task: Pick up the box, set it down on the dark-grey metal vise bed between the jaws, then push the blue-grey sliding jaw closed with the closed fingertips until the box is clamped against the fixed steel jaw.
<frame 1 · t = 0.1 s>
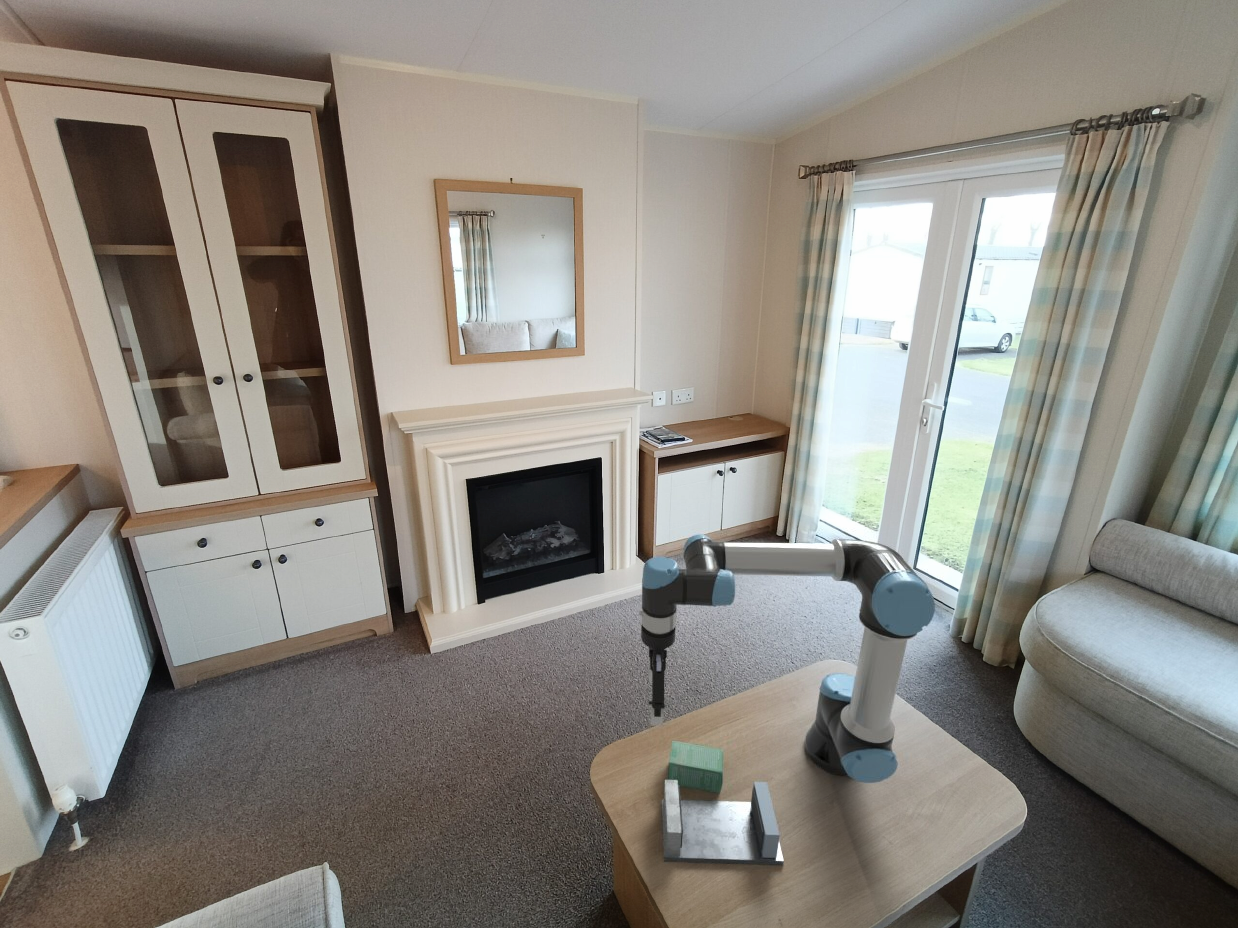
hand: (655, 701, 132), 28 cm above the table, fingers open, 13 cm apart
jaw: (763, 818, 129), point 5 cm above the table, slide at 0.0 cm
vise: (719, 832, 131), on the table
box: (695, 777, 145), on the table
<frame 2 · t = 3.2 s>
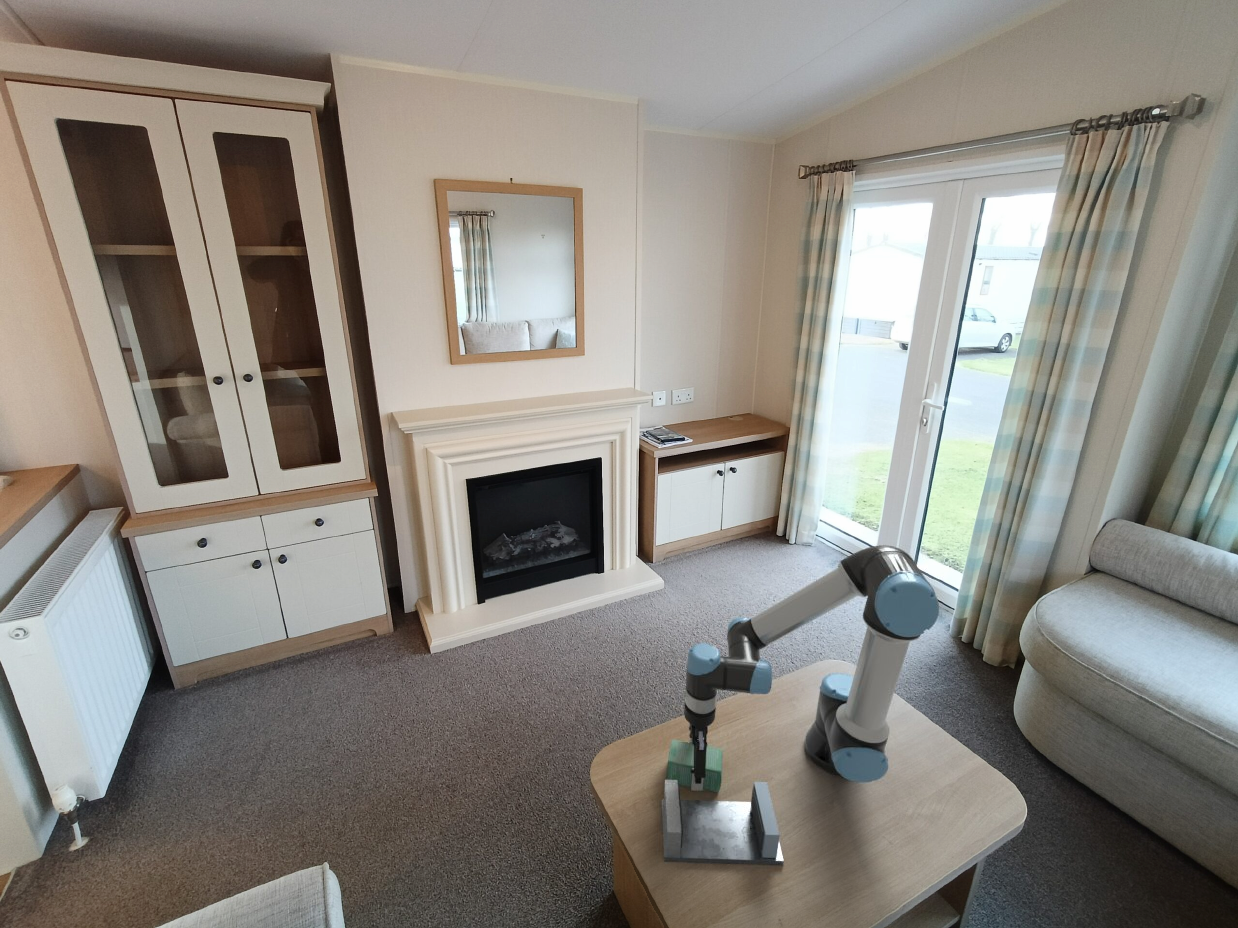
hand: (695, 773, 145), 1 cm above the table, fingers closed on box, 8 cm apart
box: (694, 776, 145), on the table, touching gripper
everything else where it was.
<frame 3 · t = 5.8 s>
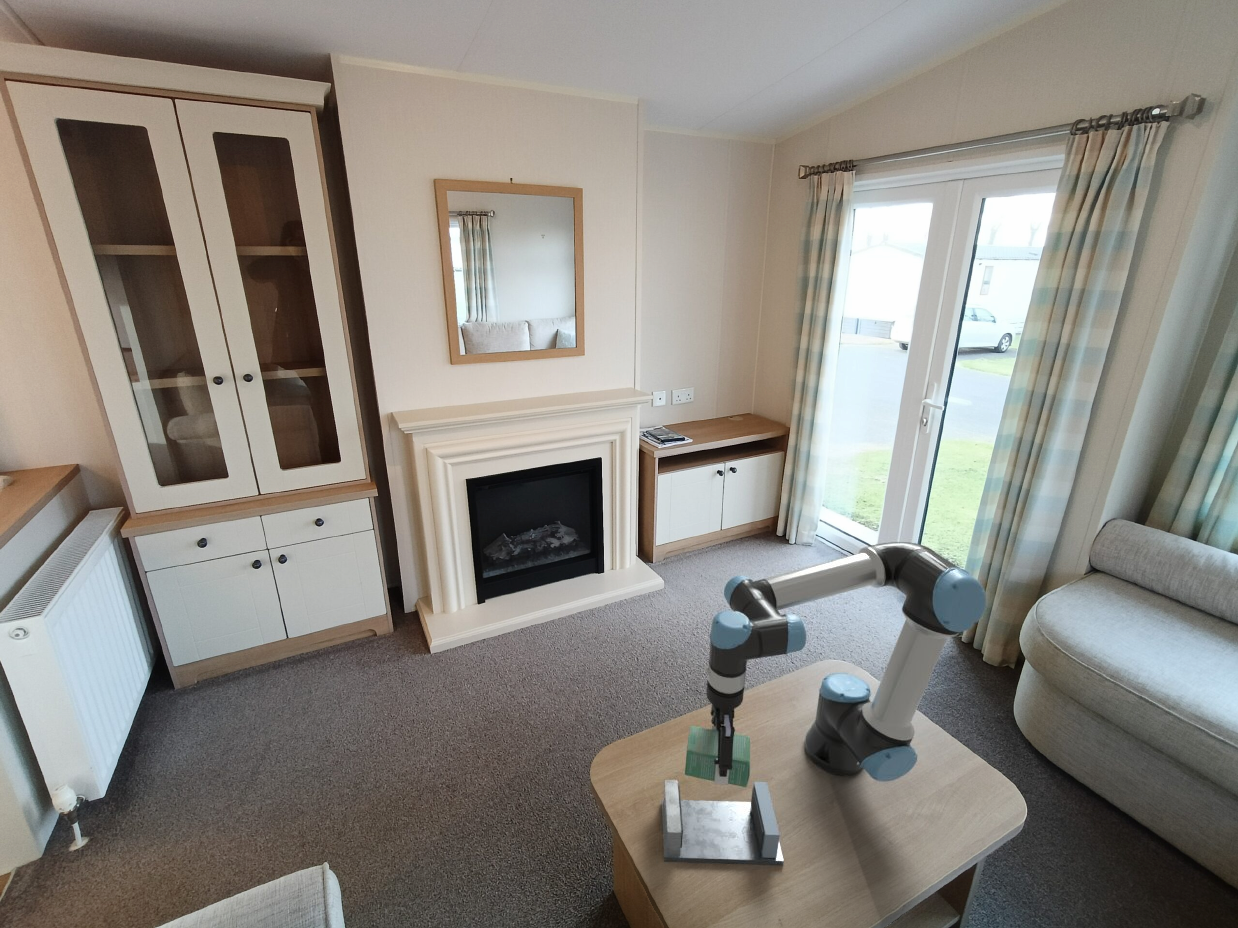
hand: (718, 765, 124), 20 cm above the table, fingers closed on box, 8 cm apart
box: (717, 769, 124), point 19 cm above the table, touching gripper
everything else where it was.
when the fingers open (4 cm above the table, at t = 8.8 s): box drops 1 cm, resting on vise.
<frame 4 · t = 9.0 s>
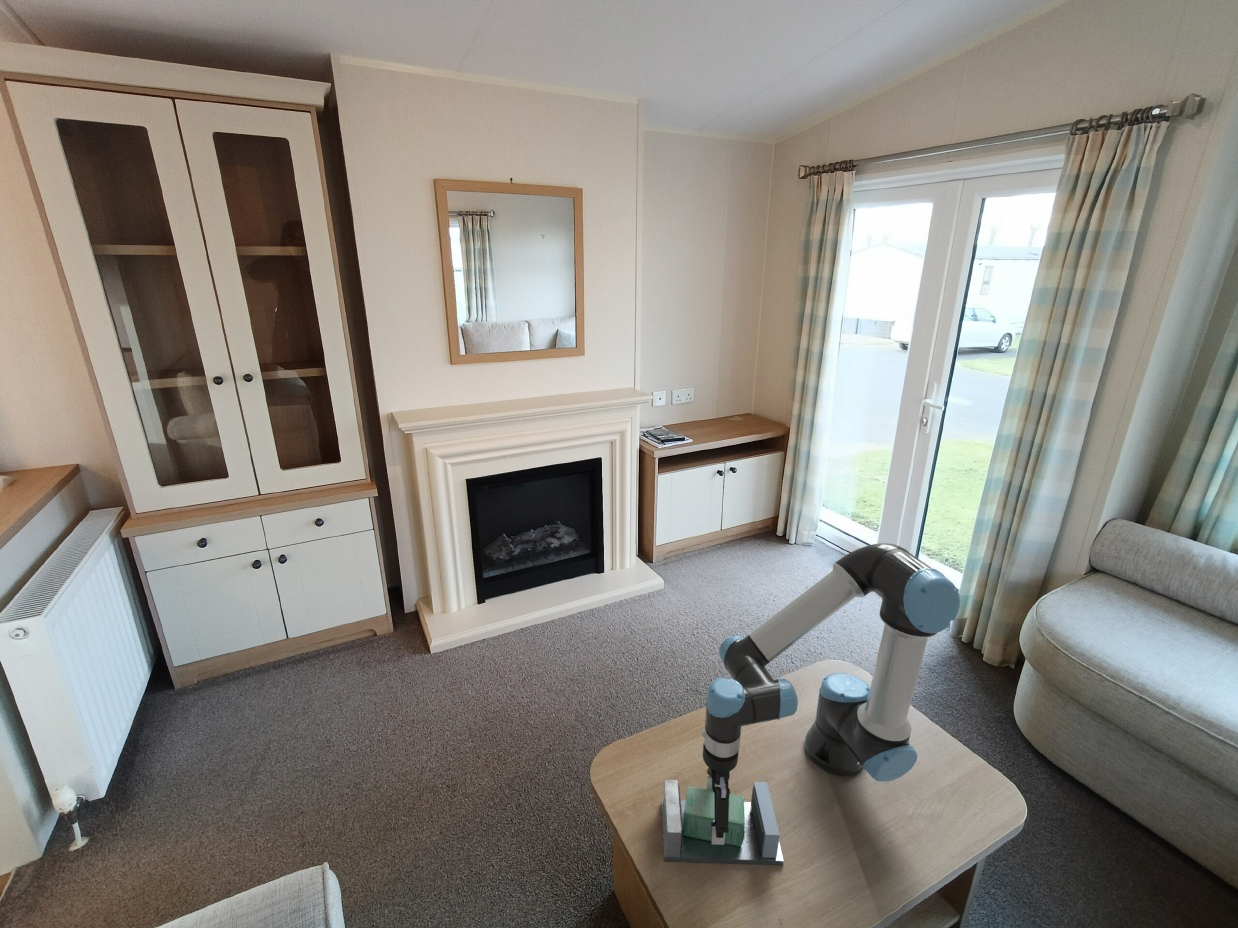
hand: (714, 819, 129), 4 cm above the table, fingers open, 10 cm apart
box: (713, 827, 131), point 1 cm above the table, touching vise
everything else where it was.
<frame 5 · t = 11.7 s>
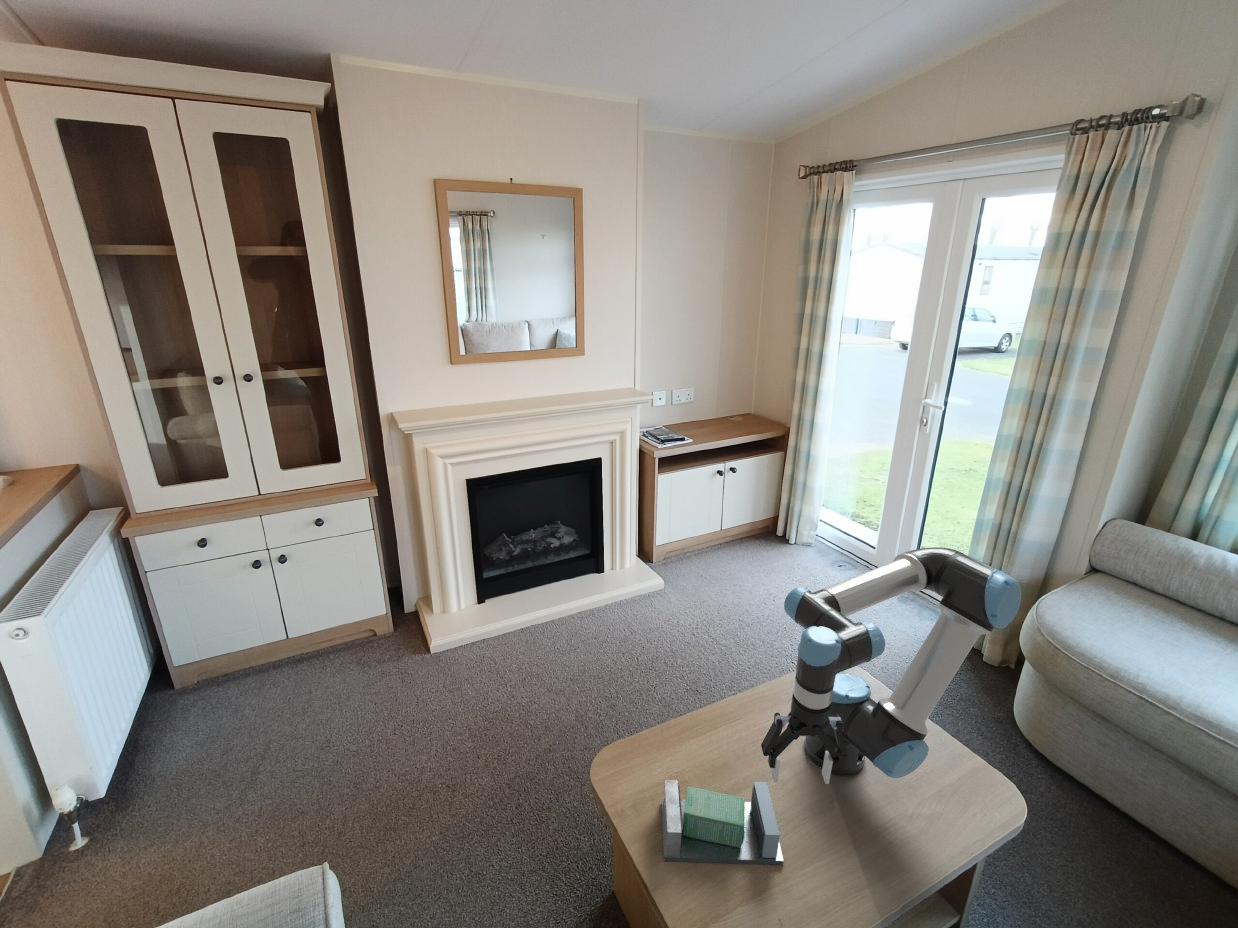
hand: (799, 777, 124), 18 cm above the table, fingers open, 10 cm apart
nothing on the table moved.
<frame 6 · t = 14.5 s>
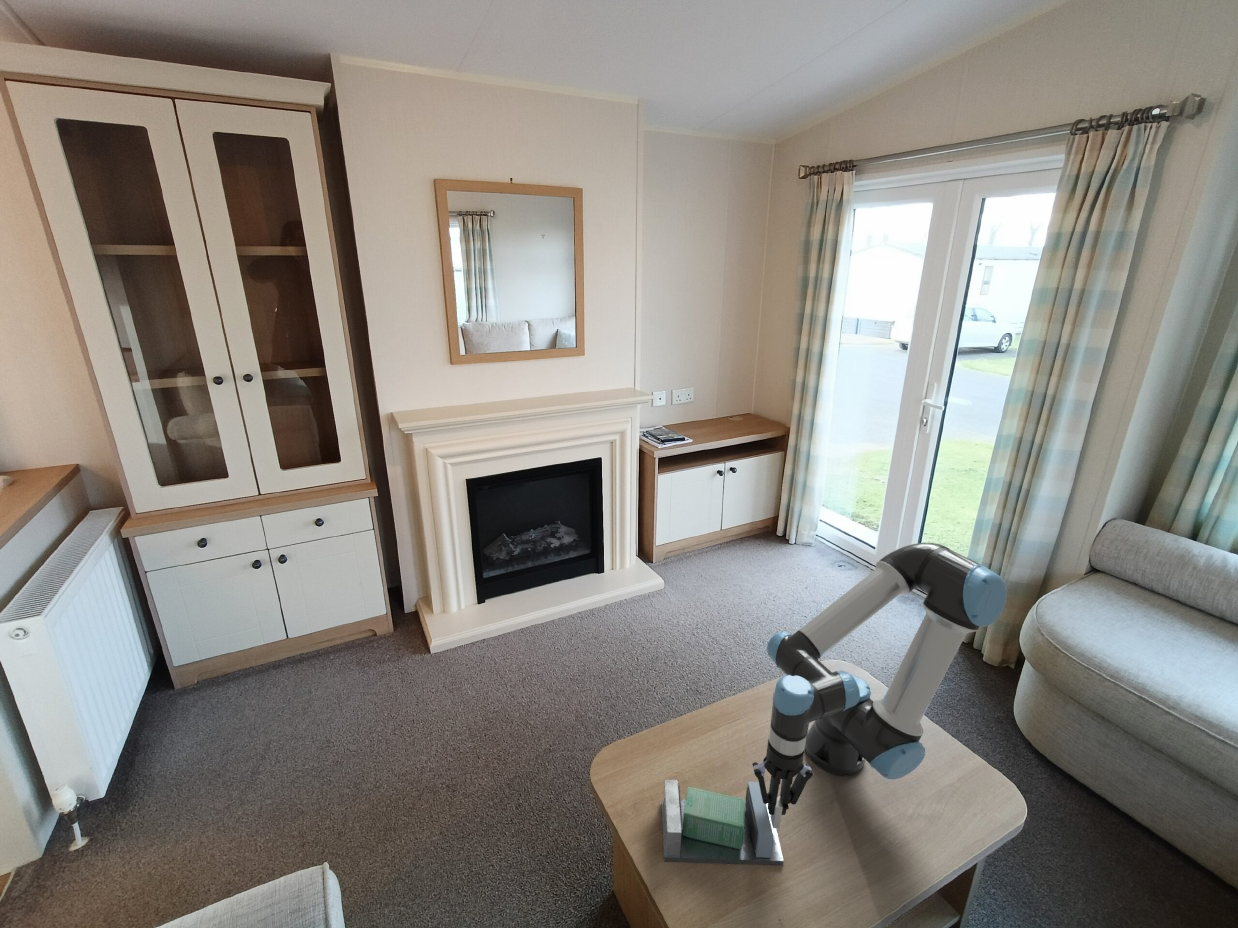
hand: (774, 822, 129), 4 cm above the table, fingers closed
jaw: (757, 817, 129), point 5 cm above the table, slide at 1.4 cm, touching gripper
everything else where it was.
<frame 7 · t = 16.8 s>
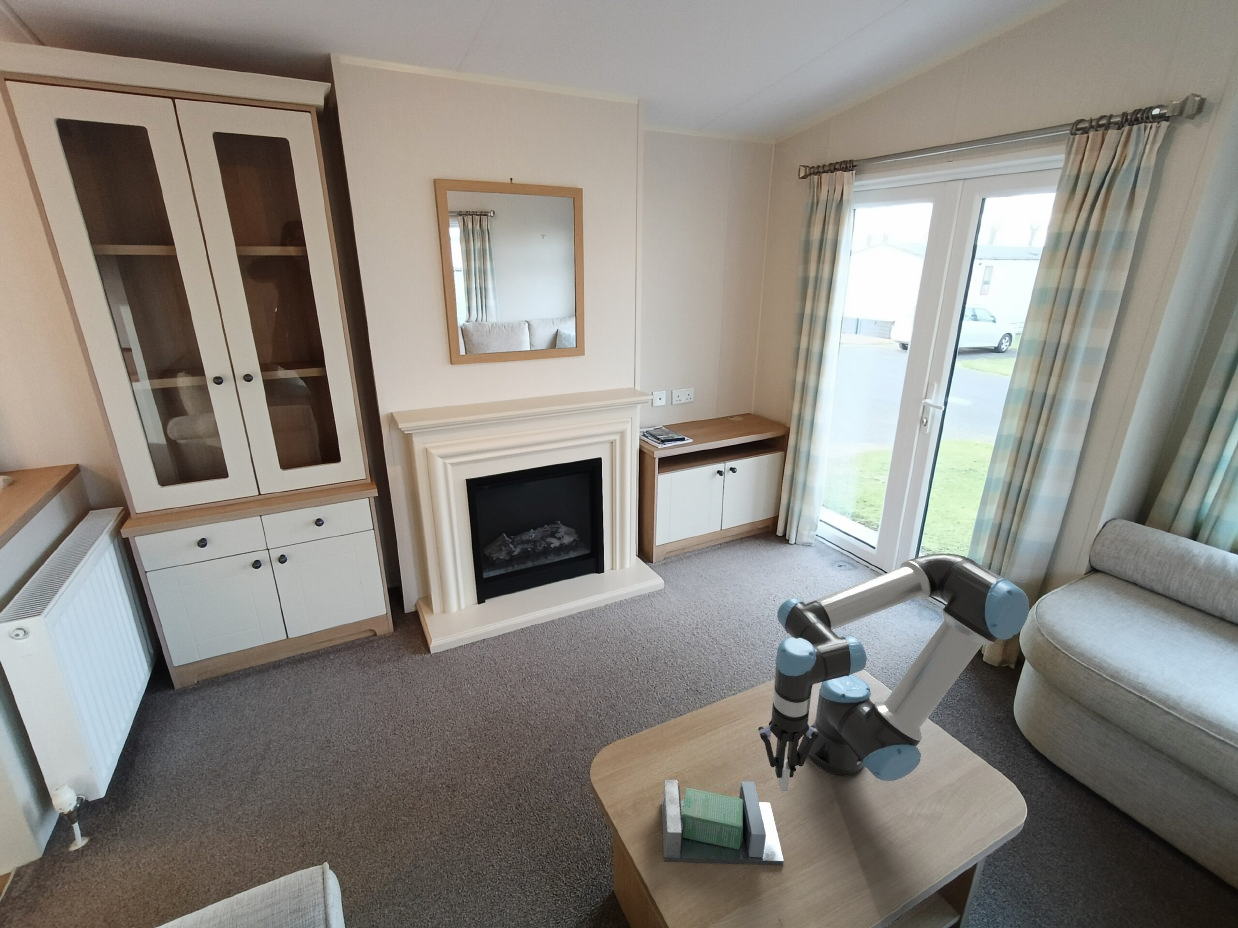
hand: (783, 785, 130), 11 cm above the table, fingers closed
jaw: (751, 817, 129), point 5 cm above the table, slide at 2.9 cm
everything else where it was.
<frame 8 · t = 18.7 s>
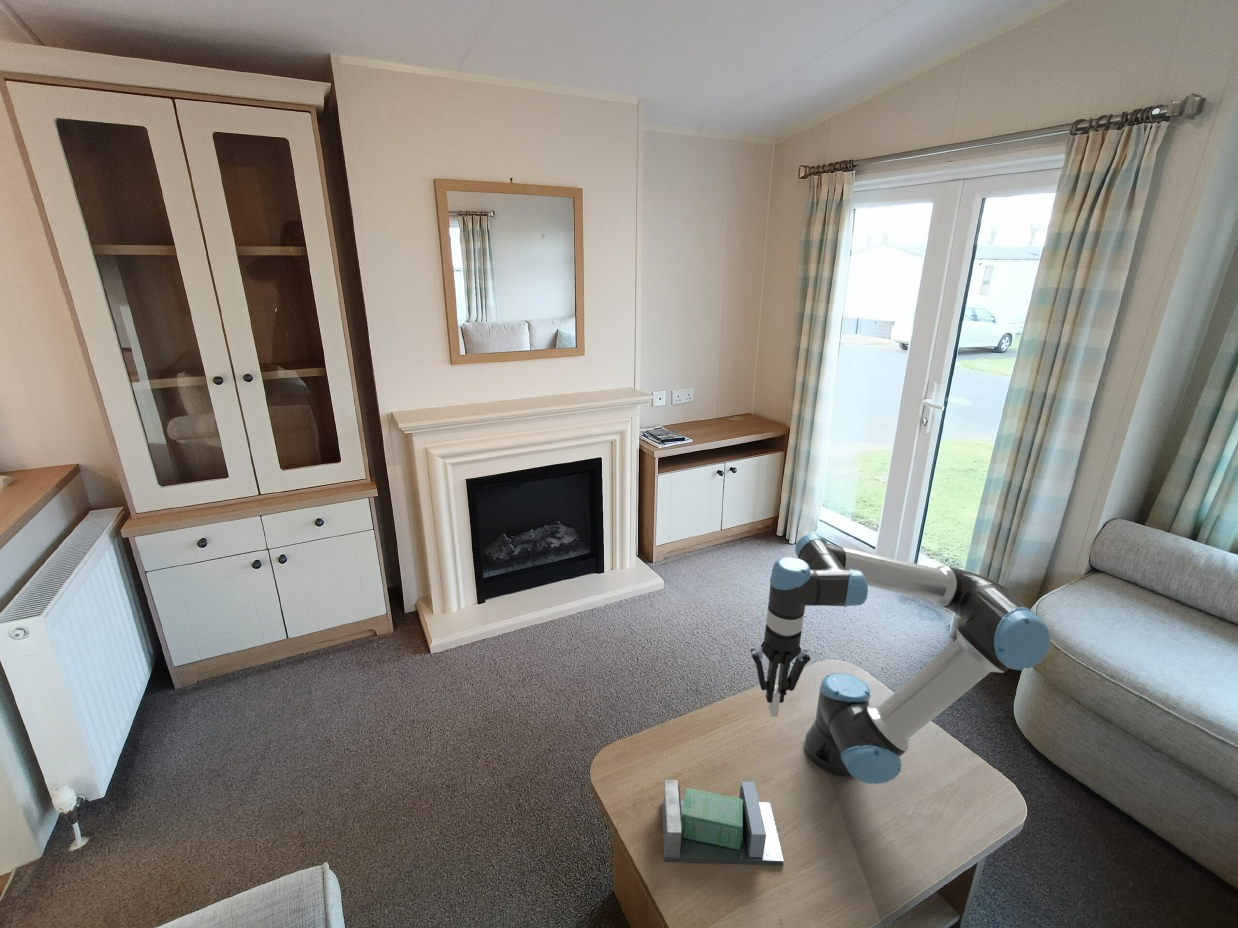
hand: (772, 711, 131), 26 cm above the table, fingers closed
nothing on the table moved.
at the end: box inside the target area (1.2 cm from its centre), point 1.3 cm above the table; jaw slide at 2.9 cm; box tilted 1° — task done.
